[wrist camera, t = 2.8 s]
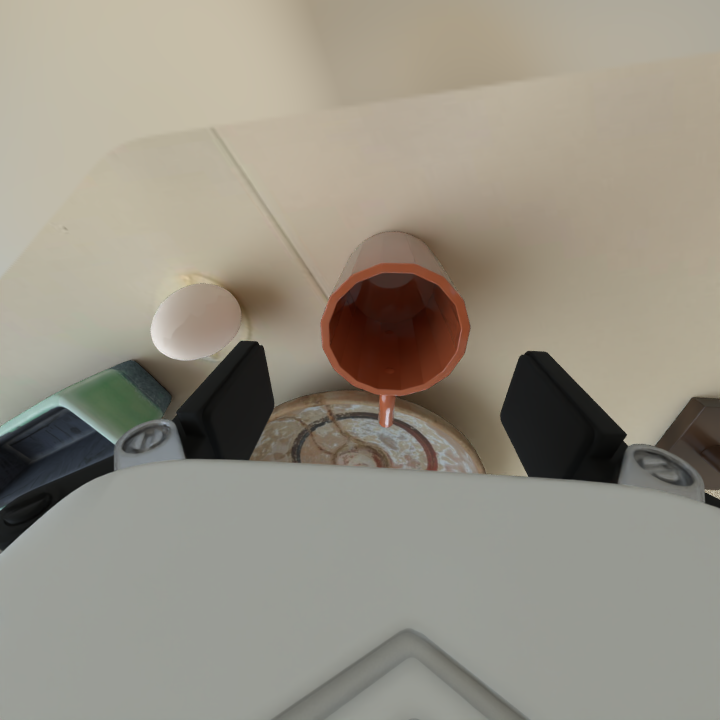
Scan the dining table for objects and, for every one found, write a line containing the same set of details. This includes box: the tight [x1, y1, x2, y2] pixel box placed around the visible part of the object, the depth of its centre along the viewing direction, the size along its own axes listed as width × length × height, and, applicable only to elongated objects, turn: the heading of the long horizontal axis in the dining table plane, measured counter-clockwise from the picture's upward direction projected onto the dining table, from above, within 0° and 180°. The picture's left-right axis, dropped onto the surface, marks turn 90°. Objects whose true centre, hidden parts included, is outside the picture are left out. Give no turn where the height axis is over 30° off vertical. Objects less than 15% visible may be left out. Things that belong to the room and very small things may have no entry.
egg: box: [151, 283, 241, 360], centre depth 20 cm, size 5×5×7 cm
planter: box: [0, 360, 172, 510], centre depth 29 cm, size 28×7×7 cm, turn 119°
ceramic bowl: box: [249, 390, 486, 474], centre depth 29 cm, size 23×24×5 cm
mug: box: [320, 231, 470, 428], centre depth 18 cm, size 11×7×9 cm, turn 0°
